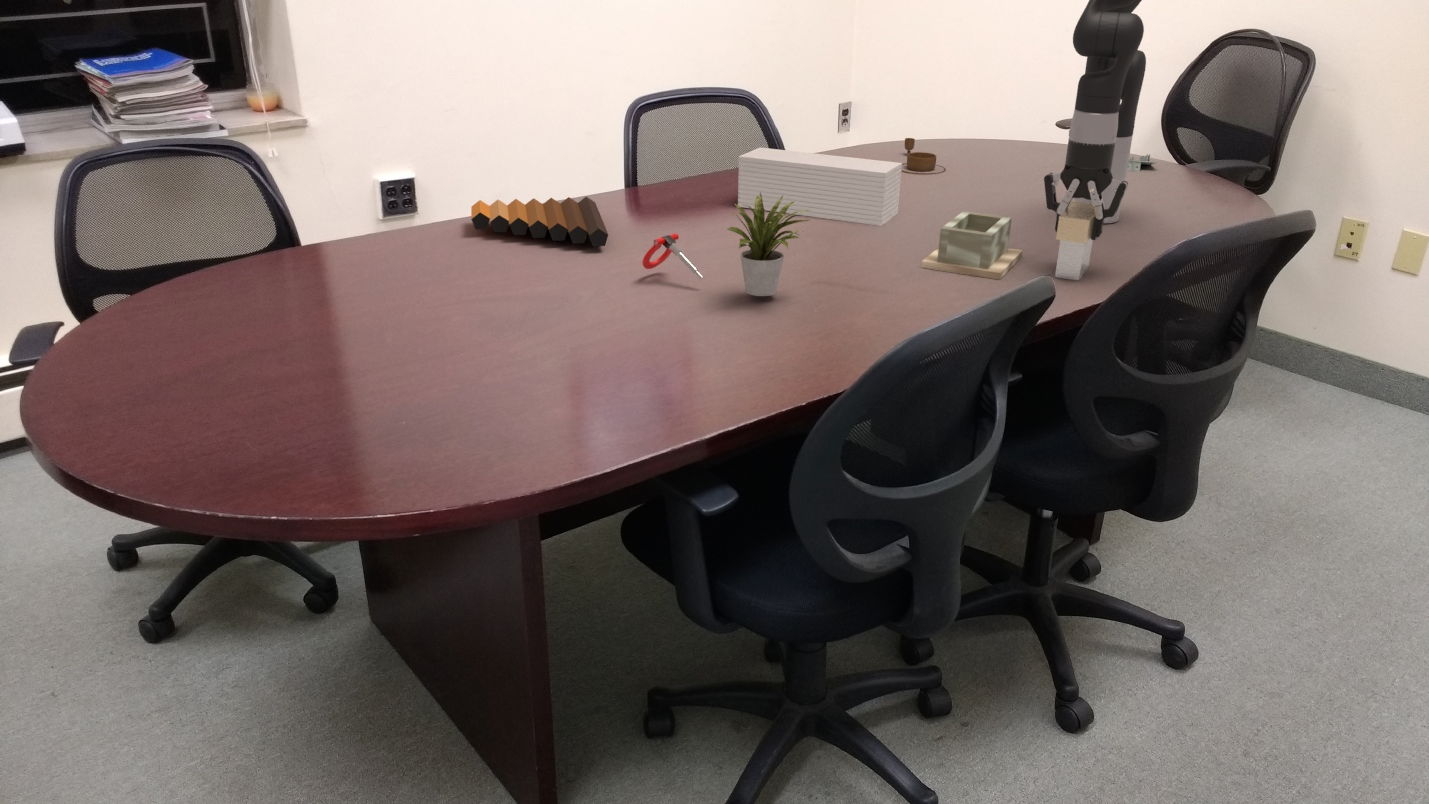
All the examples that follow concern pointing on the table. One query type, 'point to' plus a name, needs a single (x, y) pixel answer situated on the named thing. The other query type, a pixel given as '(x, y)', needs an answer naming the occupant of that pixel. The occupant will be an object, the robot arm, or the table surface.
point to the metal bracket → (1139, 163)
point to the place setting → (919, 159)
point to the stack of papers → (821, 185)
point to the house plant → (763, 247)
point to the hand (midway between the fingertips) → (1077, 236)
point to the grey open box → (974, 246)
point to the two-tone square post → (1075, 240)
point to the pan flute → (544, 219)
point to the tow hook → (668, 253)
